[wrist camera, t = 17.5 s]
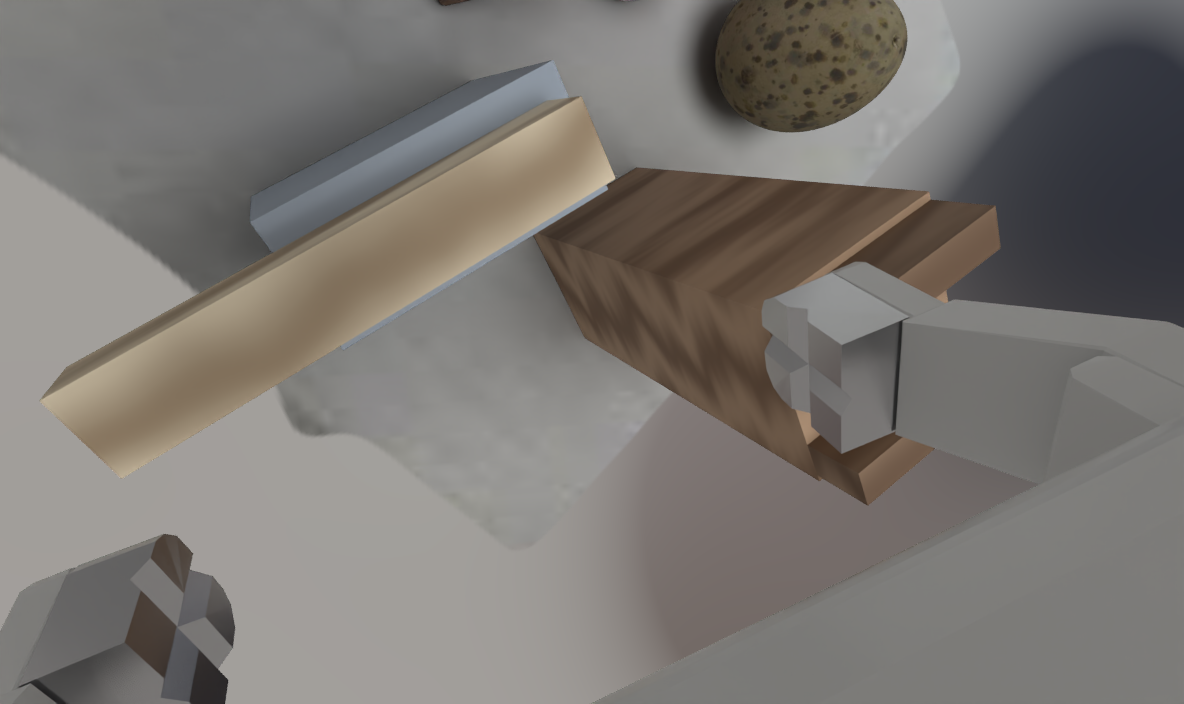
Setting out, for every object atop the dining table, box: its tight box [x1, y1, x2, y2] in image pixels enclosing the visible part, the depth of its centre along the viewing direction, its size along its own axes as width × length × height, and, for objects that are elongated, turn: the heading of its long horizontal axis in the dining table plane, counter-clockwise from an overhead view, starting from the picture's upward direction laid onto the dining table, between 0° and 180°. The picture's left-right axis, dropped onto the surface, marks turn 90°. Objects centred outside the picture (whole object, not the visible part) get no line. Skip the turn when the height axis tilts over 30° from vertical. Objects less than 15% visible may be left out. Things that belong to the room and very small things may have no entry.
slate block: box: [250, 60, 608, 350], centre depth 38 cm, size 7×16×14 cm, turn 117°
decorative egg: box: [715, 0, 907, 132], centre depth 46 cm, size 11×11×15 cm
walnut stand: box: [534, 168, 1000, 505], centre depth 40 cm, size 10×10×29 cm
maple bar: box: [40, 96, 616, 479], centre depth 29 cm, size 4×24×4 cm, turn 117°
